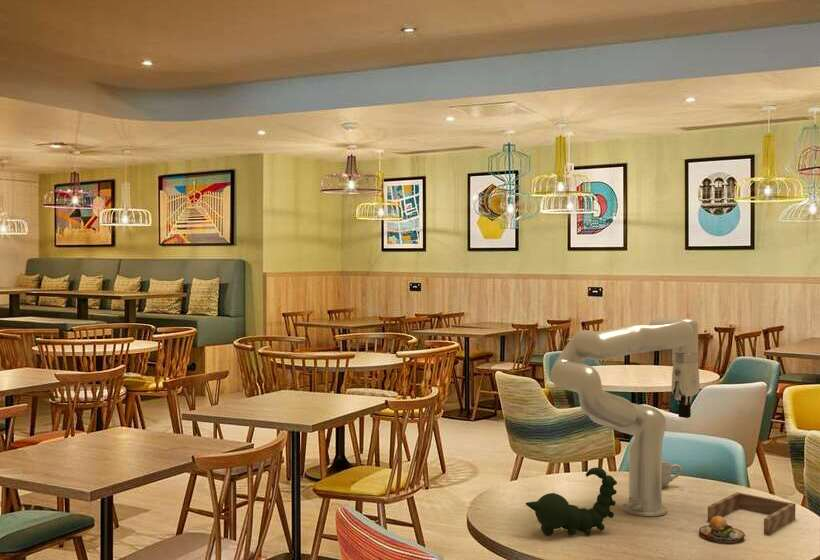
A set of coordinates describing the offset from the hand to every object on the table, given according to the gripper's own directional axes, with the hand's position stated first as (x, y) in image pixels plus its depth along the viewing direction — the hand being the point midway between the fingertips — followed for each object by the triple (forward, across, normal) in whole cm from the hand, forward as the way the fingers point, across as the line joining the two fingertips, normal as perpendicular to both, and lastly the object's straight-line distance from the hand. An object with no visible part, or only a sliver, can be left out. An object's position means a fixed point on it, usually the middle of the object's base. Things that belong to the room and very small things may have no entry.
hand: (684, 417), depth 264 cm
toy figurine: (+27, -48, +10) cm, 56 cm away
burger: (+28, -22, -22) cm, 42 cm away
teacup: (+27, +13, +15) cm, 34 cm away
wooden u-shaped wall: (+27, -2, -22) cm, 35 cm away
